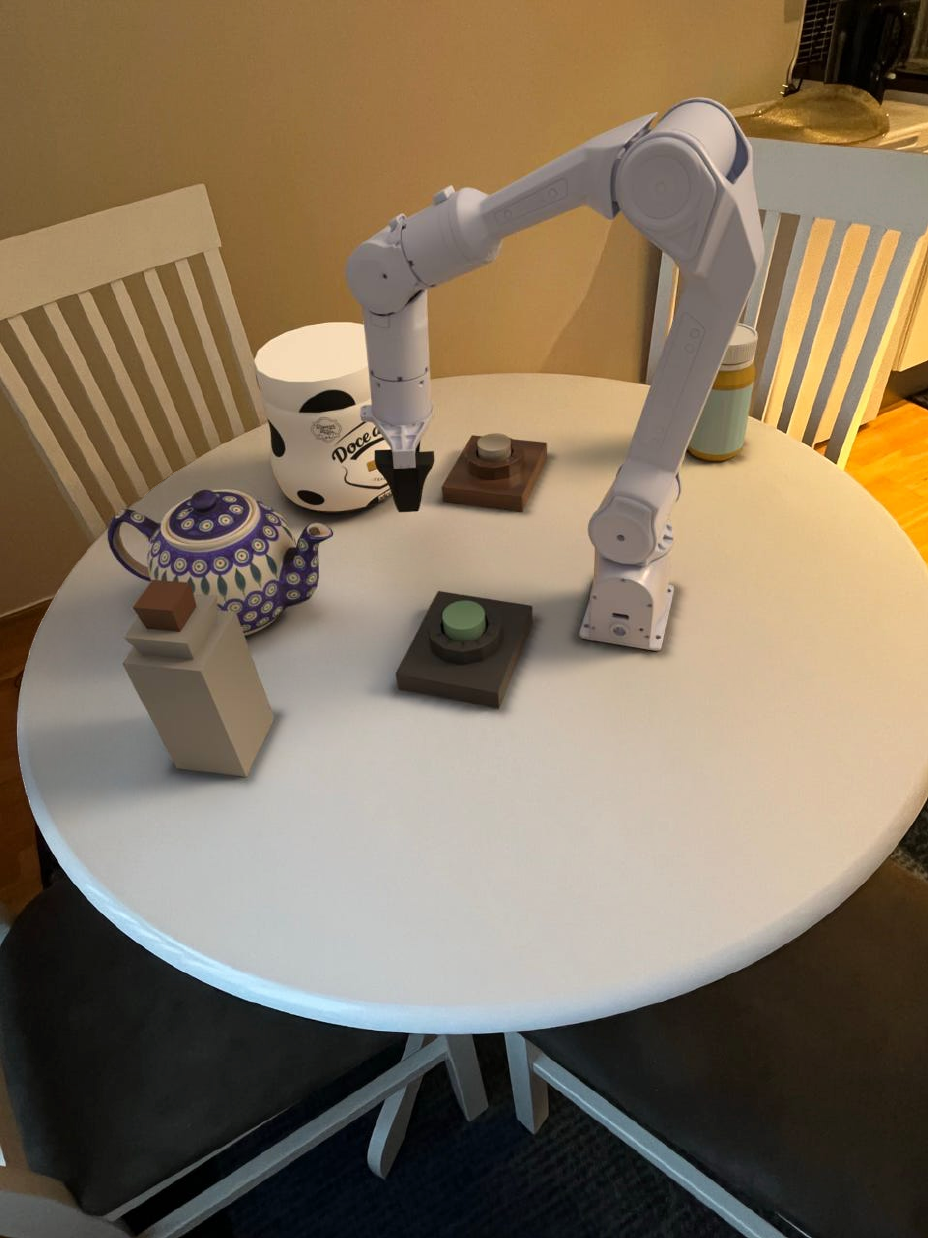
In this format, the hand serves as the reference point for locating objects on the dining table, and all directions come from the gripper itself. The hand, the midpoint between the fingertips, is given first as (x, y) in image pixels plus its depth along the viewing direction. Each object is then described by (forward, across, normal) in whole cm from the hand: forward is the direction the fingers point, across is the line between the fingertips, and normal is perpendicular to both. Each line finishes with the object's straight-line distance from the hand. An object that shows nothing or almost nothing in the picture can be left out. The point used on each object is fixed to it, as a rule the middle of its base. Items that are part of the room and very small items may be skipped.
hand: (407, 487), depth 86 cm
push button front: (+9, +16, +5) cm, 19 cm away
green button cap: (+5, +16, +5) cm, 17 cm away
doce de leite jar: (+11, -16, -8) cm, 21 cm away
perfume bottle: (+10, +24, -18) cm, 31 cm away
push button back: (+10, -14, +11) cm, 20 cm away
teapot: (+11, +5, -19) cm, 22 cm away
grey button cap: (+6, -14, +11) cm, 19 cm away
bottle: (+8, -16, +38) cm, 42 cm away
